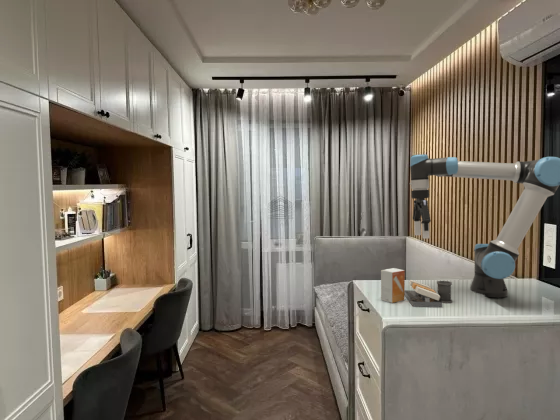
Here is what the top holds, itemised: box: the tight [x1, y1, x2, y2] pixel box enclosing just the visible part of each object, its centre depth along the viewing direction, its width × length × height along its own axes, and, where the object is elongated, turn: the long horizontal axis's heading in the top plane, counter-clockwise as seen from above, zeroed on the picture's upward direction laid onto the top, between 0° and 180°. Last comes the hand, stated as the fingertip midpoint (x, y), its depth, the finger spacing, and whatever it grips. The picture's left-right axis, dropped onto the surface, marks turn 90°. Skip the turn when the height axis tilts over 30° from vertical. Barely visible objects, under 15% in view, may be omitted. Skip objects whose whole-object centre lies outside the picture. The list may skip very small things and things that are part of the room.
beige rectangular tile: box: [414, 286, 440, 301], centre depth 153 cm, size 9×3×2 cm, turn 83°
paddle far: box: [408, 279, 433, 290], centre depth 165 cm, size 9×3×2 cm, turn 82°
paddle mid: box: [411, 283, 437, 293], centre depth 159 cm, size 9×3×2 cm, turn 83°
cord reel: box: [436, 280, 453, 304], centre depth 158 cm, size 6×6×8 cm
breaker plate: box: [404, 289, 443, 308], centre depth 159 cm, size 11×18×4 cm, turn 173°
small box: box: [380, 267, 406, 304], centre depth 160 cm, size 8×6×13 cm
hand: (421, 236), depth 169 cm, fingers open, 13 cm apart
